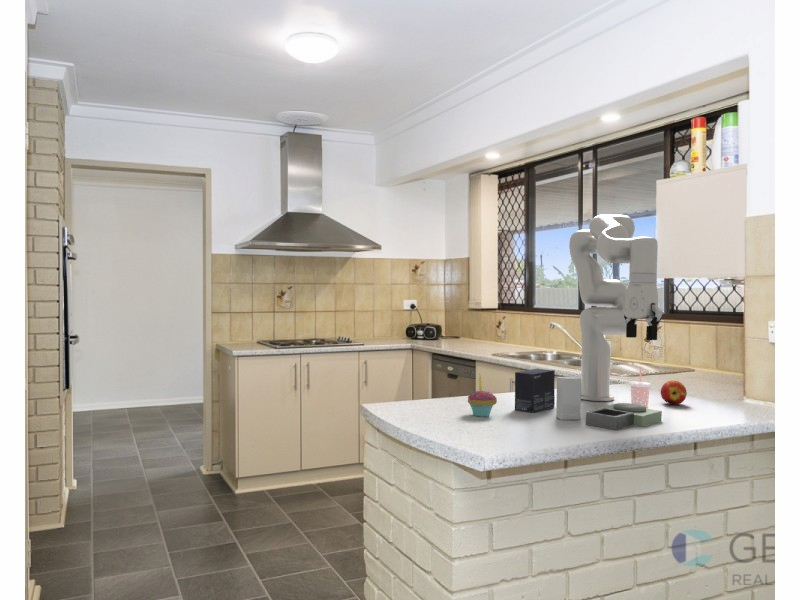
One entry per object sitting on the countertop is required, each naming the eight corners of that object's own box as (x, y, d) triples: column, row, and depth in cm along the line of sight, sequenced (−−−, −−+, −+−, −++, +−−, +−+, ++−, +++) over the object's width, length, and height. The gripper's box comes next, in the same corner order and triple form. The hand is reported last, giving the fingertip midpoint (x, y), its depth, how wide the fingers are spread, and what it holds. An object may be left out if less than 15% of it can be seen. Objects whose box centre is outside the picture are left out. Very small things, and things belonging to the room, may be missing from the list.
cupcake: (462, 412, 190) (463, 372, 190) (487, 411, 193) (488, 372, 193) (475, 418, 182) (476, 377, 182) (501, 417, 185) (502, 376, 185)
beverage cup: (646, 414, 194) (648, 368, 194) (626, 411, 198) (627, 366, 198) (652, 411, 199) (653, 366, 199) (632, 408, 203) (633, 365, 202)
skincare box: (575, 417, 188) (576, 376, 187) (581, 420, 183) (582, 378, 183) (555, 417, 187) (556, 376, 187) (560, 420, 183) (561, 378, 182)
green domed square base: (596, 418, 186) (596, 404, 186) (616, 413, 194) (616, 400, 194) (642, 426, 176) (642, 412, 176) (661, 421, 184) (661, 407, 184)
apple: (661, 405, 210) (662, 381, 210) (659, 401, 218) (659, 378, 218) (687, 407, 208) (688, 382, 208) (684, 403, 216) (685, 379, 216)
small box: (536, 404, 207) (537, 368, 206) (555, 408, 202) (555, 370, 202) (513, 410, 197) (514, 371, 197) (532, 413, 192) (533, 373, 192)
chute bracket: (585, 424, 178) (586, 412, 177) (603, 419, 184) (604, 407, 184) (615, 430, 171) (616, 417, 171) (633, 425, 178) (633, 412, 178)
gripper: (614, 279, 193) (613, 336, 193) (649, 279, 176) (648, 341, 176) (636, 280, 195) (634, 336, 195) (673, 279, 178) (671, 341, 178)
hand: (641, 338), depth 185 cm, fingers open, 9 cm apart
